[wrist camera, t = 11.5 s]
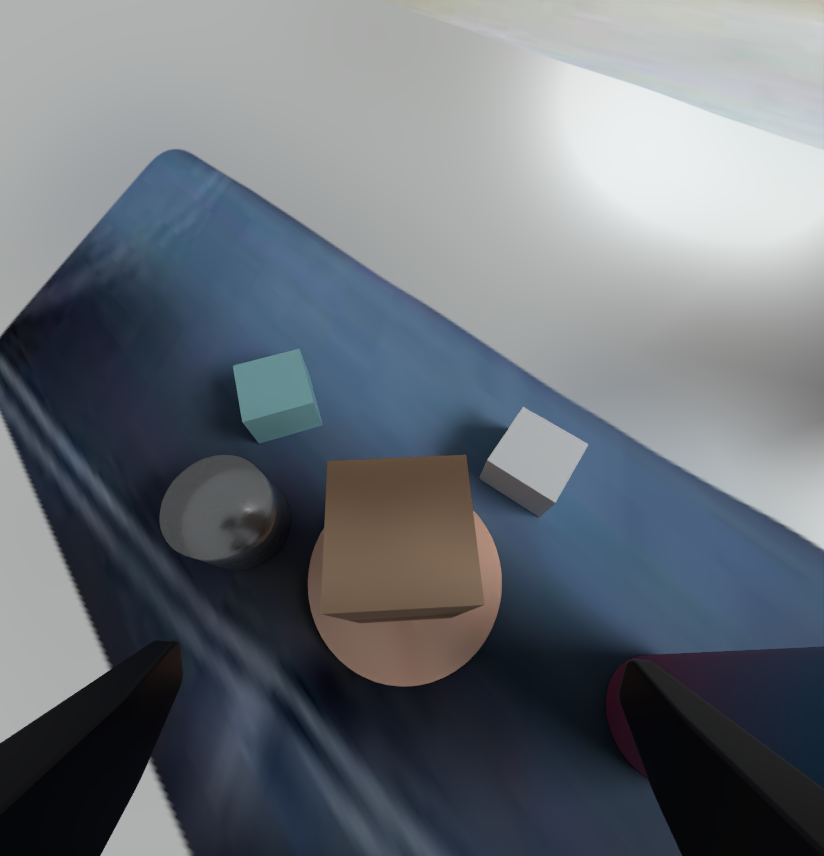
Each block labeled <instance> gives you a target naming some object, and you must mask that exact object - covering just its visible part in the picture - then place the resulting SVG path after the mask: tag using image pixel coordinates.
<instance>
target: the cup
mask: <svg viewBox="0 0 824 856" xmlns="http://www.w3.org/2000/svg"><path fill="white" fill-rule="evenodd" d="M630 659H641V660H649V661H651V662H653V663H654V664H656V665H657V666H658V667H660V668H661V669H662V670H664V671H665V672H666V673H668V674H669V675H671V676H672V677H673V678H675V679H676V680H677V681H679V682H680V683H681V684H683V685H684V686H685V687H687V688H688V689H689V690H691V691H692V692H693V693H695V694H696V695H698V696H699V697H700V698H702V699H703V700H704V701H706V702H707V703H708V704H710V705H711V706H712V707H714V708H715V709H716V710H718V711H719V712H720V713H722V714H723V715H725V716H726V717H727V718H729V719H730V720H731V721H733V722H734V723H735V724H737V725H738V726H739V727H741V728H742V729H743V730H745V731H746V732H747V733H749V734H750V735H752V736H753V737H754V738H756V739H757V740H758V741H760V742H761V743H762V744H764V745H765V746H766V747H768V748H769V749H770V750H772V751H773V752H774V753H776V754H777V755H779V756H780V757H781V758H783V759H784V760H785V761H787V762H788V763H789V764H791V765H792V766H793V767H795V768H796V769H797V770H799V771H800V772H801V773H803V774H804V775H806V776H807V777H808V778H810V779H811V780H812V781H814V782H815V783H816V784H818V785H819V786H820V787H822V788H823V789H824V647H808V648H787V649H765V650H744V651H723V652H702V653H681V654H659V655H640V656H637V657H633V658H630ZM630 659H629V660H630ZM627 661H628V660H627ZM627 661H625V662H623V663H622V664H621V665H620V666H619V667H618V668H617V669H616V671H615V672H614V674H613V676H612V677H611V679H610V682H609V685H608V688H607V695H606V714H607V719H608V724H609V727H610V730H611V733H612V735H613V738H614V740H615V742H616V744H617V745H618V747H619V749H620V751H621V752H622V754H623V755H624V756H625V758H626V759H627V760H628V762H629V763H630V764H631V765H632V766H633V767H634V768H636V769H637V770H638V771H639V772H640V773H641V774H643V775H644V776H645V777H647V775H646V772H645V769H644V766H643V764H642V761H641V758H640V755H639V753H638V750H637V747H636V744H635V742H634V739H633V736H632V734H631V731H630V728H629V725H628V723H627V720H626V717H625V714H624V712H623V709H622V706H621V703H620V699H619V688H620V685H621V681H622V677H623V673H624V669H625V665H626V663H627ZM647 778H648V777H647Z"/></svg>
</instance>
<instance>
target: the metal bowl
mask: <svg viewBox="0 0 824 856" xmlns="http://www.w3.org/2000/svg"><path fill="white" fill-rule="evenodd" d="M290 522H291V513H290V508H289V505H288V502H287V500H286V498H285V497H284V495H283V494H282V493H281V492H280V491H279V490H278V489H277V488H276V487H275V486H274V485H273V484H272V483H271V482H270V481H269V480H268V479H267V478H266V477H265V476H264V474H263V473H262V472H261V471H260V470H259V469H258V468H257V467H256V466H255V465H253V464H252V463H251V462H249V461H248V460H246V459H244V458H241V457H238V456H233V455H217V456H212V457H208V458H205V459H202V460H200V461H198V462H196V463H194V464H192V465H191V466H189V467H188V468H187V469H185V470H184V471H183V472H182V473H181V474H180V475H179V476H178V477H177V478H176V479H175V480H174V481H173V482H172V484H171V485H170V487H169V488H168V490H167V492H166V494H165V496H164V498H163V501H162V504H161V508H160V527H161V531H162V534H163V536H164V538H165V540H166V541H167V543H168V544H169V545H170V546H171V547H172V548H173V549H174V550H176V551H177V552H179V553H180V554H183V555H185V556H188V557H191V558H194V559H197V560H200V561H203V562H206V563H209V564H212V565H215V566H218V567H221V568H224V569H228V570H235V571H237V570H247V569H251V568H254V567H256V566H259V565H261V564H262V563H264V562H266V561H267V560H269V559H270V558H271V557H272V556H273V555H274V554H275V553H276V552H277V551H278V550H279V549H280V547H281V546H282V544H283V543H284V541H285V539H286V537H287V535H288V532H289V528H290Z"/></svg>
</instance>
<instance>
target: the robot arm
mask: <svg viewBox="0 0 824 856" xmlns="http://www.w3.org/2000/svg"><path fill="white" fill-rule="evenodd" d="M182 676H183V671H182V661H181V650H180V644H179V643H178V642H177V641H175V640H156V641H154V642H152V643H150V644H149V645H147V646H146V647H144V648H143V649H141V650H140V651H138V652H137V653H135V654H134V655H132V656H131V657H129V658H128V659H126V660H125V661H123V662H122V663H120V664H119V665H117V666H116V667H114V668H113V669H111V670H110V671H108V672H107V673H105V674H104V675H102V676H101V677H99V678H98V679H96V680H95V681H93V682H92V683H90V684H89V685H87V686H86V687H84V688H83V689H81V690H80V691H78V692H77V693H75V694H74V695H72V696H71V697H69V698H68V699H66V700H65V701H63V702H62V703H60V704H59V705H57V706H56V707H54V708H53V709H51V710H50V711H48V712H47V713H45V714H44V715H42V716H41V717H39V718H38V719H36V720H35V721H33V722H32V723H30V724H29V725H27V726H26V727H24V728H23V729H21V730H20V731H18V732H17V733H15V734H14V735H12V736H11V737H9V738H8V739H6V740H5V741H3V742H2V743H0V856H100V855H101V853H102V851H103V849H104V848H105V845H106V844H107V842H108V840H109V838H110V836H111V834H112V832H113V831H114V829H115V827H116V825H117V823H118V821H119V819H120V817H121V815H122V814H123V812H124V810H125V808H126V806H127V804H128V802H129V800H130V798H131V797H132V795H133V793H134V791H135V789H136V787H137V785H138V783H139V781H140V779H141V777H142V774H143V772H144V770H145V768H146V766H147V763H148V761H149V759H150V756H151V754H152V752H153V749H154V747H155V745H156V742H157V740H158V738H159V735H160V733H161V731H162V728H163V726H164V724H165V721H166V719H167V717H168V714H169V712H170V710H171V707H172V705H173V703H174V700H175V698H176V696H177V693H178V691H179V688H180V686H181V682H182ZM619 699H620V703H621V706H622V709H623V712H624V714H625V717H626V720H627V723H628V725H629V728H630V731H631V734H632V736H633V739H634V742H635V744H636V747H637V750H638V753H639V755H640V758H641V761H642V764H643V766H644V769H645V772H646V775H647V777H648V780H649V782H650V785H651V787H652V790H653V793H654V795H655V797H656V799H657V802H658V804H659V806H660V808H661V811H662V813H663V815H664V817H665V819H666V822H667V824H668V826H669V828H670V830H671V832H672V835H673V837H674V839H675V841H676V843H677V845H678V848H679V850H680V852H681V854H682V856H824V789H823V788H822V787H820V786H819V785H818V784H816V783H815V782H814V781H812V780H811V779H810V778H808V777H807V776H806V775H804V774H803V773H801V772H800V771H799V770H797V769H796V768H795V767H793V766H792V765H791V764H789V763H788V762H787V761H785V760H784V759H783V758H781V757H780V756H779V755H777V754H776V753H774V752H773V751H772V750H770V749H769V748H768V747H766V746H765V745H764V744H762V743H761V742H760V741H758V740H757V739H756V738H754V737H753V736H752V735H750V734H749V733H747V732H746V731H745V730H743V729H742V728H741V727H739V726H738V725H737V724H735V723H734V722H733V721H731V720H730V719H729V718H727V717H726V716H725V715H723V714H722V713H720V712H719V711H718V710H716V709H715V708H714V707H712V706H711V705H710V704H708V703H707V702H706V701H704V700H703V699H702V698H700V697H699V696H698V695H696V694H695V693H693V692H692V691H691V690H689V689H688V688H687V687H685V686H684V685H683V684H681V683H680V682H679V681H677V680H676V679H675V678H673V677H672V676H671V675H669V674H668V673H666V672H665V671H664V670H662V669H661V668H660V667H658V666H657V665H656V664H654V663H653V662H651V661H649V660H641V659H630V660H628V661H627V663H626V665H625V669H624V673H623V677H622V681H621V685H620V688H619Z"/></svg>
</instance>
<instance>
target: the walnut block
mask: <svg viewBox="0 0 824 856" xmlns="http://www.w3.org/2000/svg"><path fill="white" fill-rule="evenodd" d="M483 605H484V597H483V589H482V580H481V572H480V564H479V556H478V547H477V539H476V531H475V523H474V515H473V506H472V498H471V490H470V482H469V473H468V465H467V457H466V455H448V456H426V457H404V458H382V459H360V460H338V461H327V480H326V502H325V524H324V546H323V568H322V590H321V611H320V614H322V615H326V616H331V617H335V618H339V619H344V620H348V621H352V622H357V623H374V622H392V621H410V620H427V619H445V618H453V617H455V616H458V615H460V614H463V613H465V612H468V611H470V610H473V609H475V608H478V607H481V606H483Z"/></svg>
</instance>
